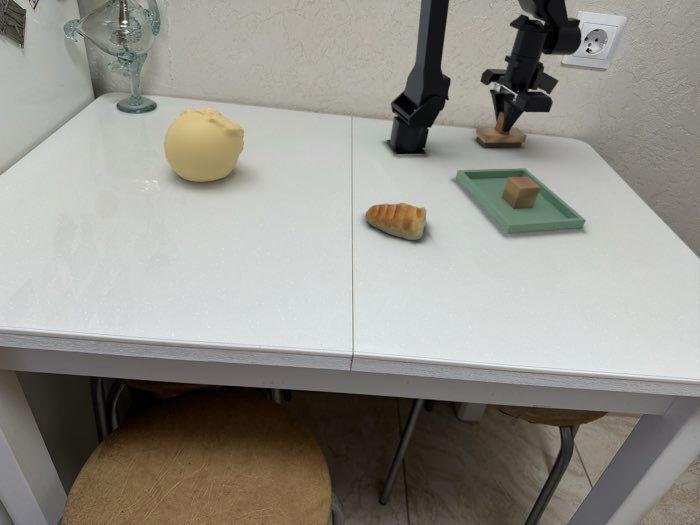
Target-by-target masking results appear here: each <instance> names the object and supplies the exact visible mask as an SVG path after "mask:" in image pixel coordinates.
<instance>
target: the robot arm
mask: <svg viewBox="0 0 700 525" xmlns="http://www.w3.org/2000/svg"><path fill="white" fill-rule="evenodd" d="M517 3H518V4H519V7H520V8H521V11H523V12H524V13H525V14H522V13H521V14H520V15H519V16H518V17H516V18H515V19H513V20H511V22H509V26H510V27H511V28H513V29H516V30H517V32H516V35H515V38H514V42H513V45H512V48H511V49H512V50H511V52H510V55H507V54H506V55H505V57H504V61H505V62H506V63H507V66H506V69H504V68H503V69H502V68H486V69H485V70H484V71H483V72H482V73H481V77H480V80H479V81H480V83H482V84H483V85H484V86H490V84H491V83H493V88H492V89H489V94H490V95H491V100H492V105H493V110H494V116H495V124H496V123H497V120H498V116H499V113H500V112H504V121H503V131H504V132H509V130H510V129H511V128H512V127H514V125H515V124H516V122H517V121H518V119H520V117H521V116H522V115H523V113H524V112H525V113H550V111H551V110H552V106H553V103H554V101H553V98H552V97H551V96H550V95H551V93H552V92H553V91H554V89H555V88H556V86H557V84H558V83H559V81H560V80H558V79H556V78H555V77H553V76H552V75H550V74H548V73H546V72H545V66H544V63H543V62H541V61H540V60H541V57H542V55H544V56H545V55H546V56H572V55H574V54H575V53H576V52H578V50H579V48H580V47H581V44H582V41H583V40H582V31H581V28H580V24H581V19H578V18H577V17H569V16H568V12H567V6H566V0H517ZM449 6H450V0H421V1H420V10H419V11H420V12H419V21H418V31H417V43H416V55H415V62H414V65H413V67H412V69H411V71H410V72H409V74H408V76H407V79H406V83H405V88H404V90H403V91H402V92H400V94H399V95H397V96H396V97H395V98H394V99H393V100H392V101H391V102H390V108H391V112H392V114H394V115H395V116H393V120H392V127H391V132H390V138H389V139H386V144H387V145H388V147H389V149H391V151H392V152H393V153H394V155H426V154H427V152H426V151H425V148H426V146H427V142H428V136H429V131H430V129H431V128H432V127H433V125H434V124H435V122H436V120H437V118H438V116H439V114H440V112H443V110H444V108H445V106H446V103H447V102H446V101H449V100H450V97H449V90H450V87H451V84H452V83H451V81H452V80H451V77H449V76H447V75H446V74H444V73H443V70H442V63H443V62H442V61H443V54H444V46H445V38H446V30H447V21H448V15H449ZM526 14H528V15H531V16H532V17H533V18H534V19H530V17H529V16H528V15H526ZM538 89H540V90H541V91H538ZM530 90H531V91H530ZM543 91H544V92H543Z"/></svg>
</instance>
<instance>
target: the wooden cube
mask: <svg viewBox="0 0 700 525" xmlns="http://www.w3.org/2000/svg"><path fill="white" fill-rule="evenodd" d="M540 188H541V187H539V186H538V185H537V184H536V183H535V182H534V181H532V180H531V179H530V178H529V177H508V180H507V183H506V186H505V189H504V192H503V195H502V198H503V199H504V200H505V201H506V202H507V203H508V204H509V205H510V206H511V207H512V208H513V209H520V208H533V206H534V203H535V201H536V198H537V196H538V193H539V191H540Z"/></svg>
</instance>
